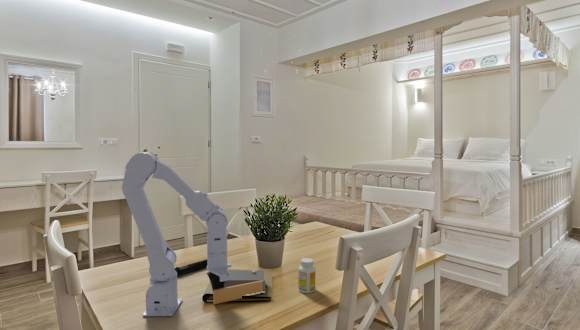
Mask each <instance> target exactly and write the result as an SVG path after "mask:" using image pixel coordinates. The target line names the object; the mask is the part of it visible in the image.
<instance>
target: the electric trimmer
mask: <svg viewBox="0 0 580 330" xmlns="http://www.w3.org/2000/svg"><path fill="white" fill-rule="evenodd" d="M204 268H207V259H204V260H200V261H199V260H198V261H196V262H192V263H189V264H186V265H183V266H180V267H179V266H175V267H174V269H175V271H176V272H177V278H178V277H179V276H181V275H182V276H183V275H185V274H188V273H191V272H197V271H199V270H202V269H204Z"/></svg>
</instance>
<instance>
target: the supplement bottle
mask: <svg viewBox="0 0 580 330" xmlns="http://www.w3.org/2000/svg"><path fill="white" fill-rule="evenodd" d="M314 264H315V263H314V259H313V258H310V257H305V258H304V257H303V258H301V259H300V266H299V267H298V280H297V281H298V285H297V287H298V288H297V289H298V291H299V292H300V293H303V294H311V293H314V292H315V291H316V267H315V266H314Z"/></svg>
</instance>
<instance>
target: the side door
mask: <svg viewBox="0 0 580 330" xmlns="http://www.w3.org/2000/svg"><path fill="white" fill-rule="evenodd" d="M261 291H265V292H266V280H265V279H264V280H261V281H256V282H251V283H246V284H241V285H236V286H230V287H225V288H220V289H215V290H212V294H213V297H212V298H213V300H212V301H213V305H216V304H222V303H227V302H231V301H236V300H240V299H243V298H242V296H243V295H246V294H252V293H256V292H261Z"/></svg>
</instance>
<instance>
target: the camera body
mask: <svg viewBox="0 0 580 330" xmlns="http://www.w3.org/2000/svg"><path fill="white" fill-rule="evenodd" d="M227 273H228V281H225V284H224V288H225V287H230V286H236V285H241V284H246V283H251V282H256V281H261V280H265V279H264V278H265V277H264V276H265V275H264V274H265V270H259V269H258V270H255V269H254V270H227Z"/></svg>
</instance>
